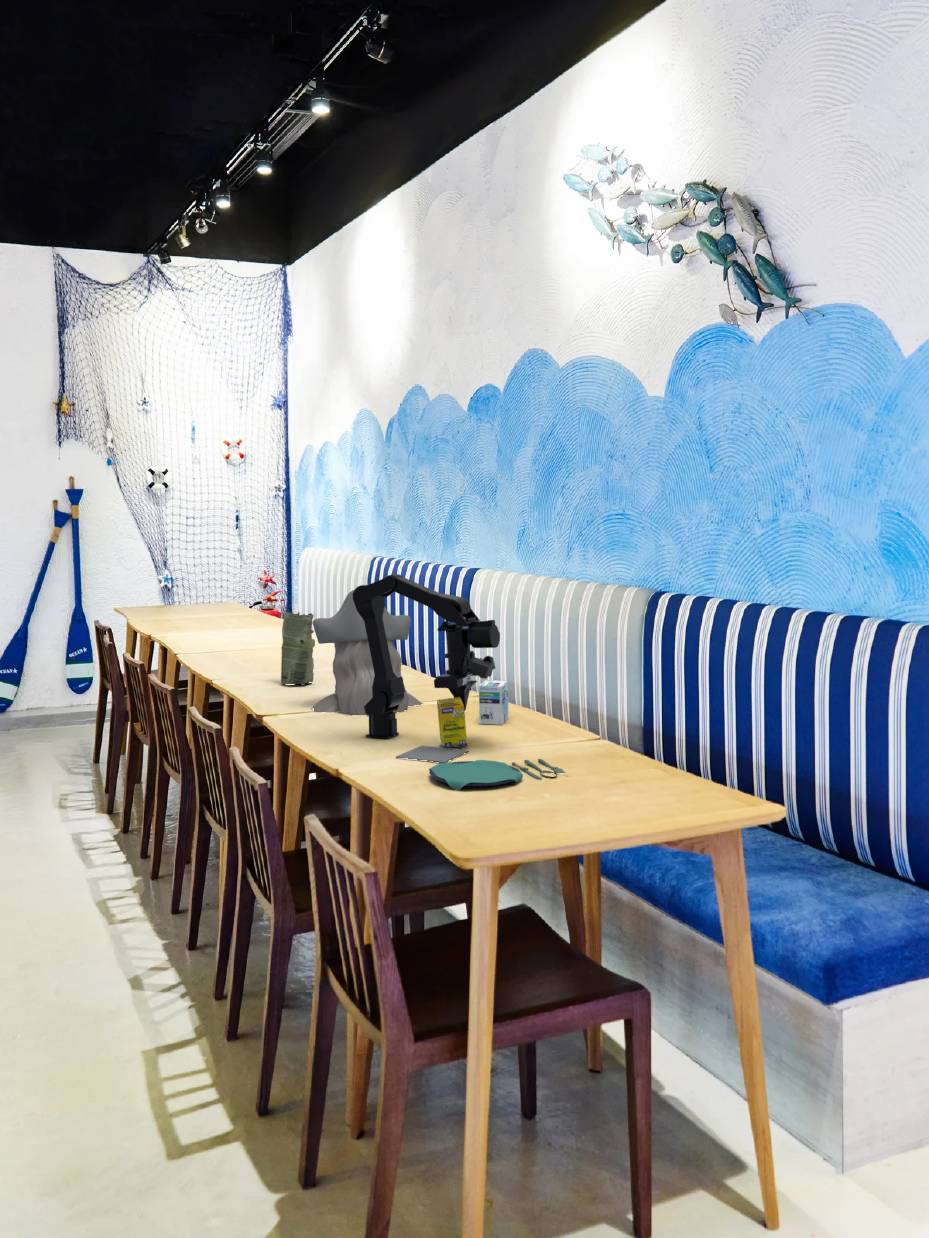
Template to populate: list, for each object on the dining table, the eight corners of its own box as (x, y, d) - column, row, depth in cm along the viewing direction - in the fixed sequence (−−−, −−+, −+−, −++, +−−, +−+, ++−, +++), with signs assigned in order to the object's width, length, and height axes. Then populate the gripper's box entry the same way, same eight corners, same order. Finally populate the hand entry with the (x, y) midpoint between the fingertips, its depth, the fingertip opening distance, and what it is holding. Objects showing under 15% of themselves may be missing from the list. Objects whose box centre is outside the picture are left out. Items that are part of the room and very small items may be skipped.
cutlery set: (416, 773, 228) (416, 763, 228) (539, 763, 239) (539, 753, 238) (448, 796, 209) (448, 785, 209) (579, 784, 220) (579, 773, 220)
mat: (395, 758, 241) (395, 756, 241) (421, 747, 253) (421, 745, 253) (444, 763, 236) (444, 762, 236) (469, 752, 247) (469, 750, 247)
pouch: (282, 682, 355) (280, 610, 352) (317, 681, 356) (315, 609, 354) (279, 687, 344) (278, 613, 341) (315, 686, 345) (314, 612, 343)
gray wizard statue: (406, 693, 331) (404, 585, 327) (437, 712, 299) (436, 592, 295) (301, 700, 320) (298, 588, 316) (322, 720, 288) (320, 595, 284)
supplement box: (444, 749, 250) (440, 708, 247) (440, 739, 256) (436, 699, 252) (468, 746, 251) (464, 704, 248) (463, 736, 257) (460, 695, 253)
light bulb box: (502, 725, 279) (502, 686, 278) (478, 724, 280) (478, 685, 279) (509, 717, 289) (509, 680, 288) (485, 717, 291) (485, 679, 290)
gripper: (472, 653, 242) (477, 718, 244) (503, 642, 259) (507, 703, 261) (430, 654, 247) (435, 718, 248) (463, 643, 264) (467, 703, 265)
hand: (463, 710), depth 256 cm, fingers closed
